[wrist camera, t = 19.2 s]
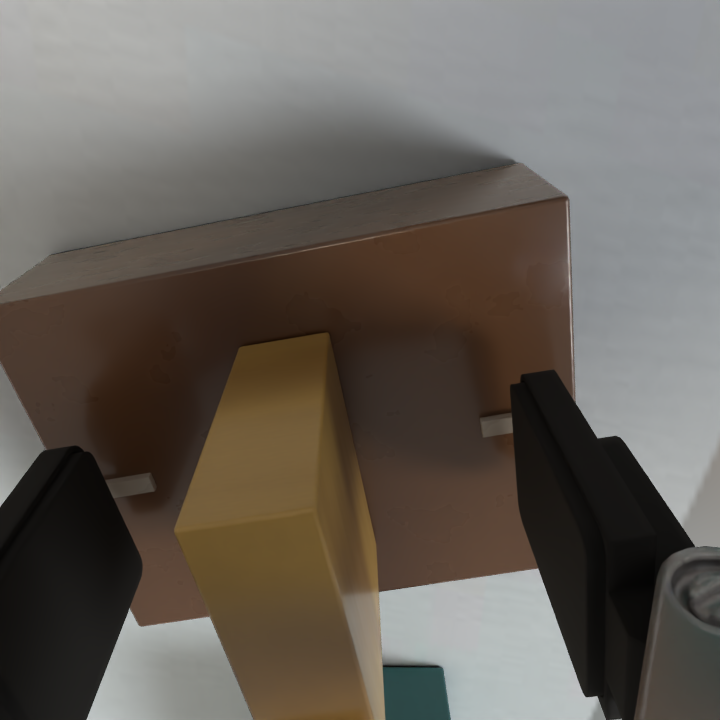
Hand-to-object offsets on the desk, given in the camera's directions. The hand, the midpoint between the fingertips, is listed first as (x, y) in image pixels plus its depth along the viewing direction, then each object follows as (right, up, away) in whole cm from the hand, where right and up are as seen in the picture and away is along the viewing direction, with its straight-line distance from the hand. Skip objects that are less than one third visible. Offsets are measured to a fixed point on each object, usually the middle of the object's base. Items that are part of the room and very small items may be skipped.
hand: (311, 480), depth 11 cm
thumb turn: (0, 0, +1) cm, 1 cm away
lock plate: (0, +2, +3) cm, 4 cm away
